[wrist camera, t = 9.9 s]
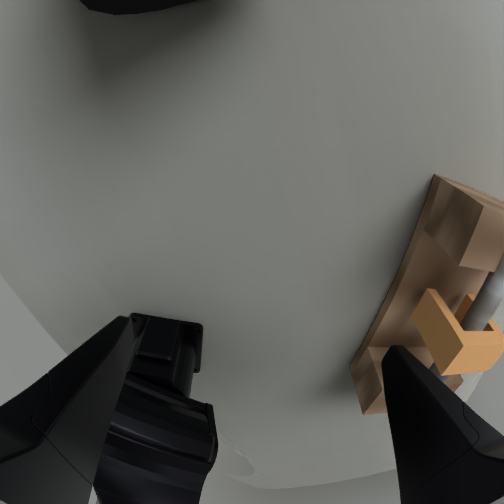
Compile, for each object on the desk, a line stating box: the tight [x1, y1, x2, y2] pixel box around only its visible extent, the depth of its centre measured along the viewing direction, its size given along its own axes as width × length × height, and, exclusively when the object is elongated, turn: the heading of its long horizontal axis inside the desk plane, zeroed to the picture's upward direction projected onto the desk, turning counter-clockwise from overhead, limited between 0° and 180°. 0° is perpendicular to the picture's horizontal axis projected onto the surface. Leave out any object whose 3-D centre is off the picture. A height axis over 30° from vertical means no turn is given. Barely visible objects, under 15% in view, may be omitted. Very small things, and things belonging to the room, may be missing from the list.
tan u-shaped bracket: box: [411, 288, 504, 376], centre depth 19 cm, size 6×3×6 cm, turn 80°
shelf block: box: [350, 174, 504, 415], centre depth 21 cm, size 20×10×7 cm, turn 171°
